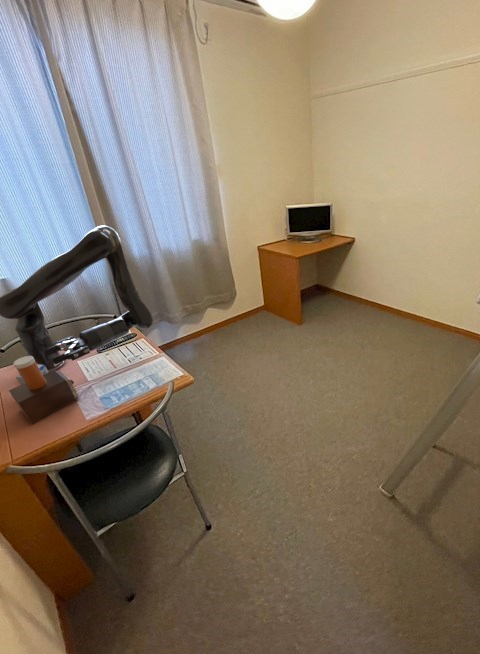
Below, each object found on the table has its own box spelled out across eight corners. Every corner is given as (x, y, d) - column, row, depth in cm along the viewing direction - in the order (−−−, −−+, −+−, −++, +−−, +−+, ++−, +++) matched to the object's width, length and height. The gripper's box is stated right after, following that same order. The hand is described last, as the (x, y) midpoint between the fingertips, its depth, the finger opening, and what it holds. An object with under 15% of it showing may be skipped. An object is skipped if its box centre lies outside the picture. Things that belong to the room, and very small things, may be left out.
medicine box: (36, 396, 119) (25, 377, 115) (26, 395, 120) (15, 376, 116) (54, 383, 126) (44, 364, 122) (45, 382, 127) (34, 363, 122)
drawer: (71, 384, 123) (63, 368, 119) (82, 394, 117) (73, 377, 114) (29, 405, 114) (18, 389, 110) (38, 416, 108) (27, 400, 105)
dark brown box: (65, 389, 122) (54, 369, 117) (76, 400, 116) (65, 379, 111) (22, 410, 113) (8, 390, 108) (32, 424, 107) (18, 402, 102)
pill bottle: (26, 386, 110) (11, 361, 105) (43, 378, 113) (30, 354, 108) (31, 392, 107) (16, 366, 102) (49, 383, 110) (35, 358, 105)
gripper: (85, 322, 123) (36, 342, 112) (103, 333, 115) (51, 354, 104) (93, 340, 127) (46, 360, 116) (110, 351, 119) (61, 373, 108)
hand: (48, 357), depth 110 cm, fingers open, 8 cm apart
